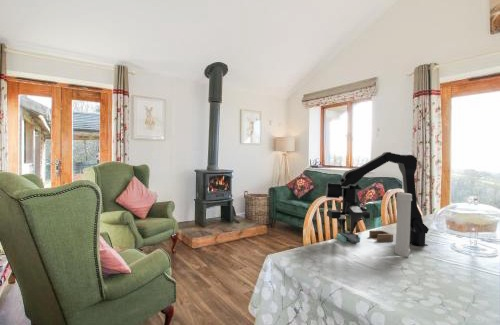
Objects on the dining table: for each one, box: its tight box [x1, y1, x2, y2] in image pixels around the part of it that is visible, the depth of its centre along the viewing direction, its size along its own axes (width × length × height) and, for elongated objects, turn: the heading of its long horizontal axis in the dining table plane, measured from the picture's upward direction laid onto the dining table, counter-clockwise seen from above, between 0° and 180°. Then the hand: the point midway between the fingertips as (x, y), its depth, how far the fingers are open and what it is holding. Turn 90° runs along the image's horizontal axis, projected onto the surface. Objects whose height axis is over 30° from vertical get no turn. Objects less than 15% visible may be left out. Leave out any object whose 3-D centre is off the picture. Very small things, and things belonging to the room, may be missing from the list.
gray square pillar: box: [394, 178, 412, 258], centre depth 113 cm, size 6×6×30 cm
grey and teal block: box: [340, 229, 360, 245], centre depth 128 cm, size 8×4×4 cm, turn 15°
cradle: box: [336, 233, 361, 243], centre depth 130 cm, size 7×8×2 cm
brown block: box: [368, 229, 394, 243], centre depth 132 cm, size 7×7×4 cm
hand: (347, 233), depth 130 cm, fingers open, 4 cm apart
